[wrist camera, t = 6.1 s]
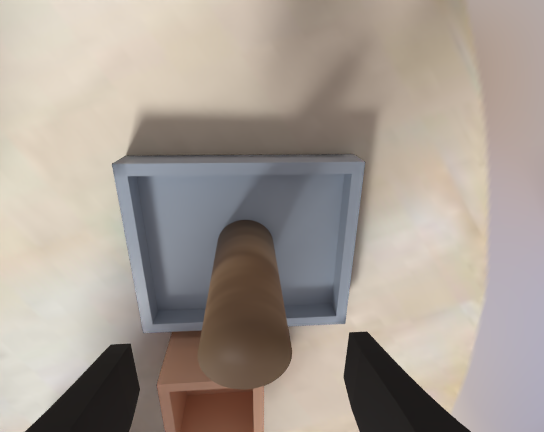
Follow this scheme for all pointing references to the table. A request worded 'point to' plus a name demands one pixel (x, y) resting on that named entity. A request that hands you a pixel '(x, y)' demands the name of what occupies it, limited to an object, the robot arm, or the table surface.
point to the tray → (233, 207)
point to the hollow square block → (203, 394)
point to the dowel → (244, 311)
